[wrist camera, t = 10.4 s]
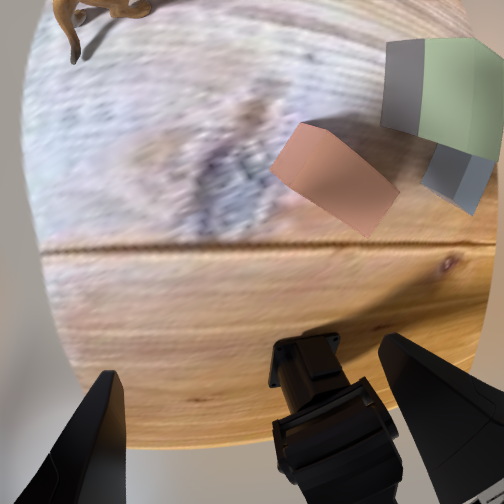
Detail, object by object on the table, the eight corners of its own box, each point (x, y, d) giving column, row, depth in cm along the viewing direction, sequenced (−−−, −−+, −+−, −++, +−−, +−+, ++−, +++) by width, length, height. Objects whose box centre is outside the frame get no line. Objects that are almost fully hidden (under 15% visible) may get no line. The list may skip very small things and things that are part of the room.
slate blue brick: (441, 198, 23) (472, 216, 19) (419, 182, 21) (452, 200, 18) (467, 138, 20) (500, 149, 17) (447, 117, 19) (482, 127, 16)
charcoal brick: (415, 133, 19) (452, 144, 16) (380, 125, 18) (417, 136, 15) (422, 56, 16) (460, 57, 13) (386, 42, 15) (424, 38, 12)
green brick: (453, 145, 16) (498, 162, 12) (417, 136, 15) (466, 152, 12) (460, 57, 13) (507, 61, 9) (424, 39, 12) (474, 37, 8)
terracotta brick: (366, 174, 20) (400, 192, 17) (339, 214, 21) (367, 238, 18) (299, 122, 17) (327, 130, 14) (268, 169, 18) (289, 187, 15)
